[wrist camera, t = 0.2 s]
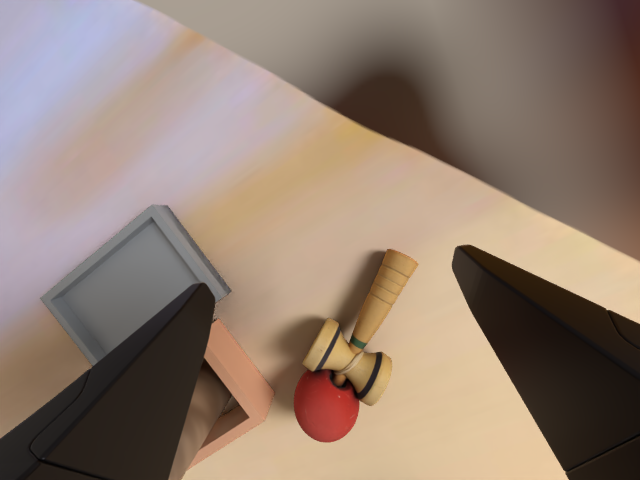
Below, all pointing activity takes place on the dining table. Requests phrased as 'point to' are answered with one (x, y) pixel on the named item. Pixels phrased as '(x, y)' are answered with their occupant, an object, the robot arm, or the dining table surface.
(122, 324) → the grey tray
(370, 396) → the kendama
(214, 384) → the walnut peg
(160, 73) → the dining table surface
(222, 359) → the pink rectangular frame
